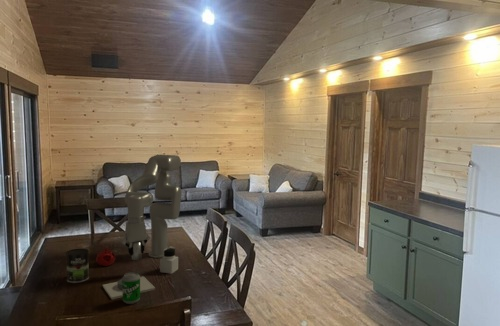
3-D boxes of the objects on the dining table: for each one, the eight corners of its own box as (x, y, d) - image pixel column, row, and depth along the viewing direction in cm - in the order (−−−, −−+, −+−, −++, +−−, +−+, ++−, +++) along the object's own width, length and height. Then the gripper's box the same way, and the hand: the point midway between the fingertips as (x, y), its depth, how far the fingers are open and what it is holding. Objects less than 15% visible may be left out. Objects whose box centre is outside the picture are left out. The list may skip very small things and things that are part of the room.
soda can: (124, 297, 176) (124, 271, 175) (141, 297, 177) (141, 271, 176) (120, 305, 169) (120, 278, 168) (138, 304, 169) (138, 278, 168)
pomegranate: (92, 265, 215) (91, 249, 214) (106, 260, 224) (106, 244, 223) (105, 268, 210) (104, 251, 209) (119, 262, 219) (118, 246, 218)
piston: (139, 255, 206) (139, 239, 204) (142, 258, 202) (142, 241, 200) (130, 257, 203) (129, 240, 202) (133, 260, 199) (132, 243, 198)
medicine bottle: (178, 269, 211) (178, 247, 210) (171, 274, 205) (171, 251, 203) (166, 267, 214) (166, 246, 212) (159, 272, 207) (159, 250, 206)
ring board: (143, 278, 198) (143, 271, 198) (154, 289, 185) (154, 282, 185) (102, 286, 187) (102, 279, 187) (111, 299, 174) (111, 291, 174)
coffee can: (90, 281, 194) (89, 253, 192) (67, 284, 189) (66, 256, 187) (88, 273, 203) (87, 247, 201) (66, 277, 198) (65, 249, 197)
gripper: (149, 215, 207) (149, 248, 210) (116, 220, 198) (117, 254, 200) (154, 218, 201) (155, 252, 204) (120, 223, 192) (121, 259, 194)
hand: (136, 253), depth 202 cm, fingers closed on piston, 5 cm apart
